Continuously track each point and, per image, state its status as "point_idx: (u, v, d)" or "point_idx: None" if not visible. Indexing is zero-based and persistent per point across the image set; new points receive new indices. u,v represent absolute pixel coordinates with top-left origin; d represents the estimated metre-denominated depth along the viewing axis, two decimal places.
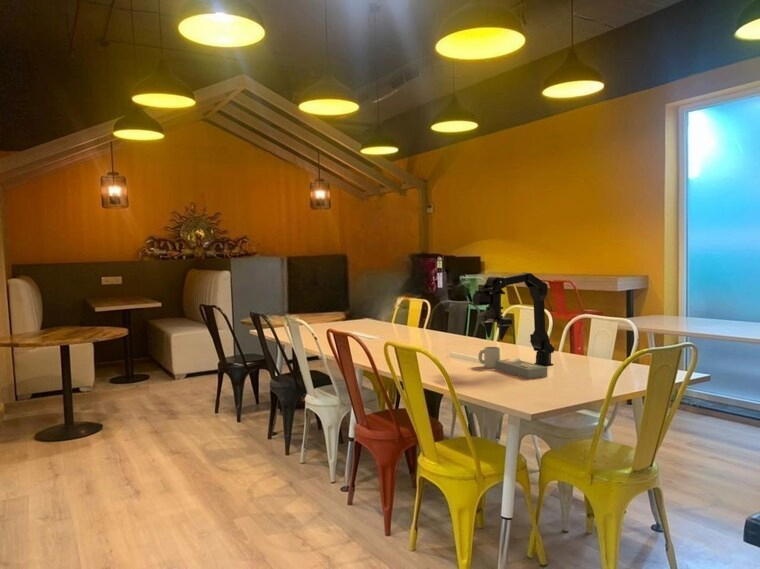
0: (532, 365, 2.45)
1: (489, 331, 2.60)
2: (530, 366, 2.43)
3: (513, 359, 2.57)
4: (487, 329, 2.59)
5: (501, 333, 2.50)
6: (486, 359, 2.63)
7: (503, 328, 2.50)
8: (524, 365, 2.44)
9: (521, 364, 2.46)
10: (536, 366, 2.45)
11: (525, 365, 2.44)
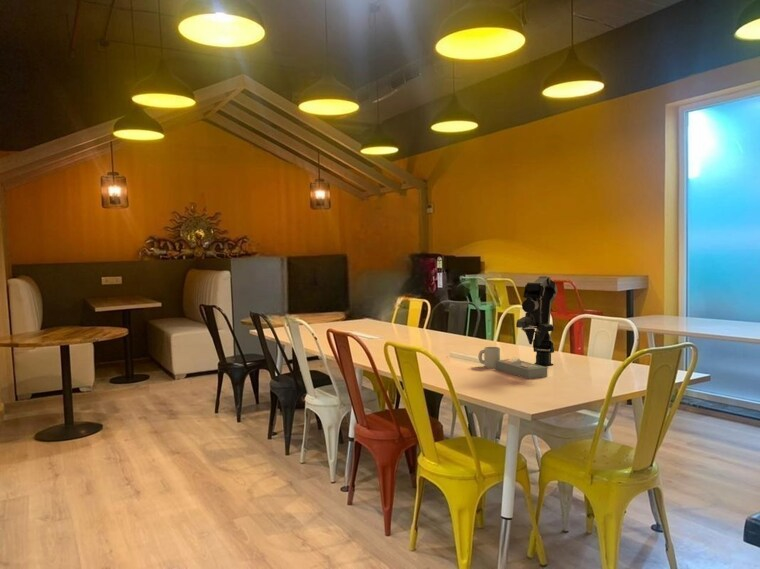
0: (532, 365, 2.45)
1: (531, 338, 2.55)
2: (530, 366, 2.43)
3: (513, 359, 2.57)
4: (529, 336, 2.55)
5: (539, 339, 2.49)
6: (486, 359, 2.63)
7: (540, 334, 2.49)
8: (524, 365, 2.44)
9: (521, 364, 2.46)
10: (536, 366, 2.45)
11: (525, 365, 2.44)
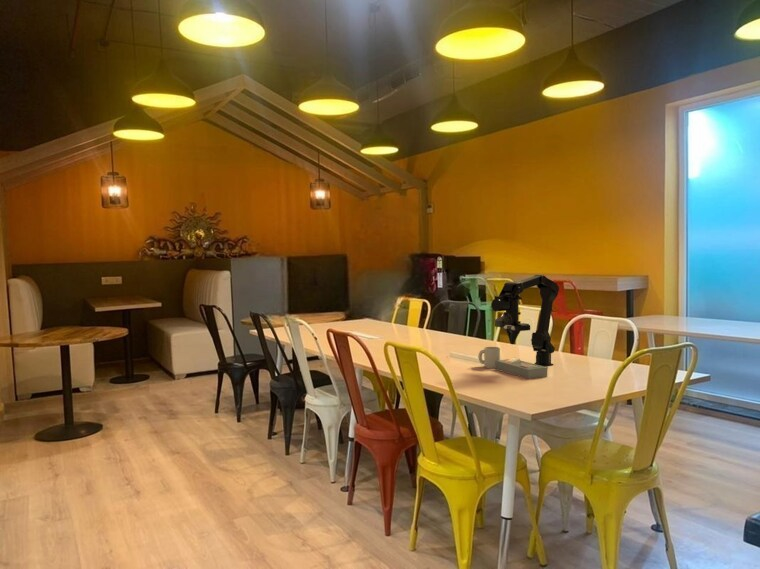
0: (532, 365, 2.45)
1: None
2: (530, 366, 2.43)
3: (513, 359, 2.57)
4: None
5: (512, 337, 2.54)
6: (486, 359, 2.63)
7: (514, 332, 2.55)
8: (524, 365, 2.44)
9: (521, 364, 2.46)
10: (536, 366, 2.45)
11: (525, 365, 2.44)
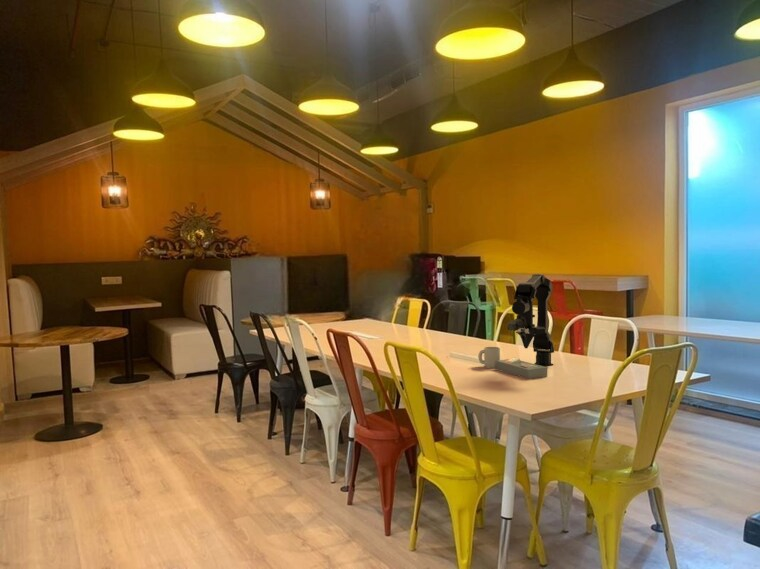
0: (532, 365, 2.45)
1: None
2: (530, 366, 2.43)
3: (513, 359, 2.57)
4: None
5: (526, 341, 2.43)
6: (486, 359, 2.63)
7: (528, 336, 2.43)
8: (524, 365, 2.44)
9: (521, 364, 2.46)
10: (536, 366, 2.45)
11: (525, 365, 2.44)
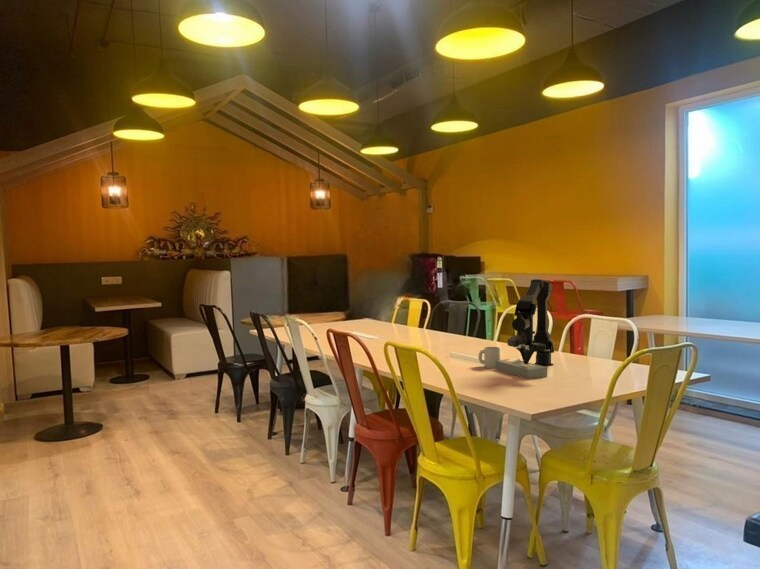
0: (532, 365, 2.45)
1: None
2: (530, 366, 2.43)
3: (513, 359, 2.57)
4: None
5: (526, 357, 2.43)
6: (486, 359, 2.63)
7: (528, 352, 2.43)
8: (524, 365, 2.44)
9: (521, 364, 2.46)
10: (536, 366, 2.45)
11: (525, 365, 2.44)
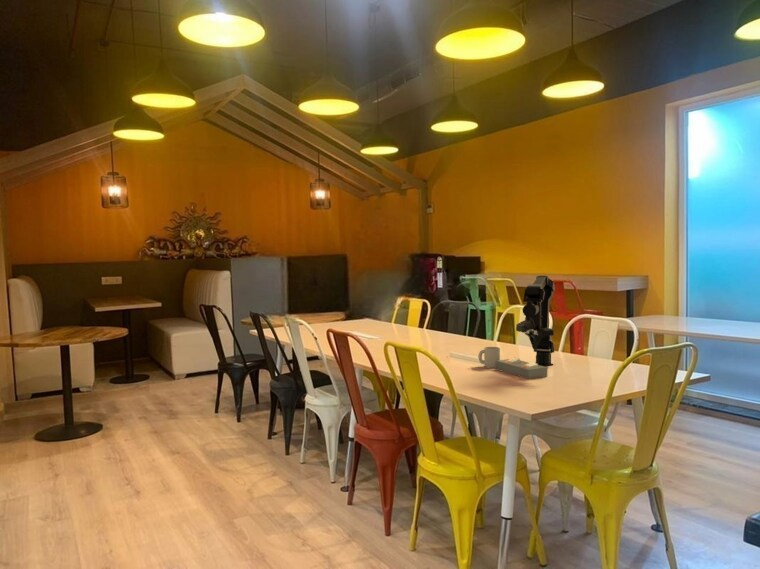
0: (532, 364, 2.45)
1: None
2: (530, 367, 2.43)
3: (513, 359, 2.57)
4: None
5: (535, 342, 2.47)
6: (486, 359, 2.63)
7: (537, 337, 2.48)
8: None
9: None
10: (536, 364, 2.45)
11: None
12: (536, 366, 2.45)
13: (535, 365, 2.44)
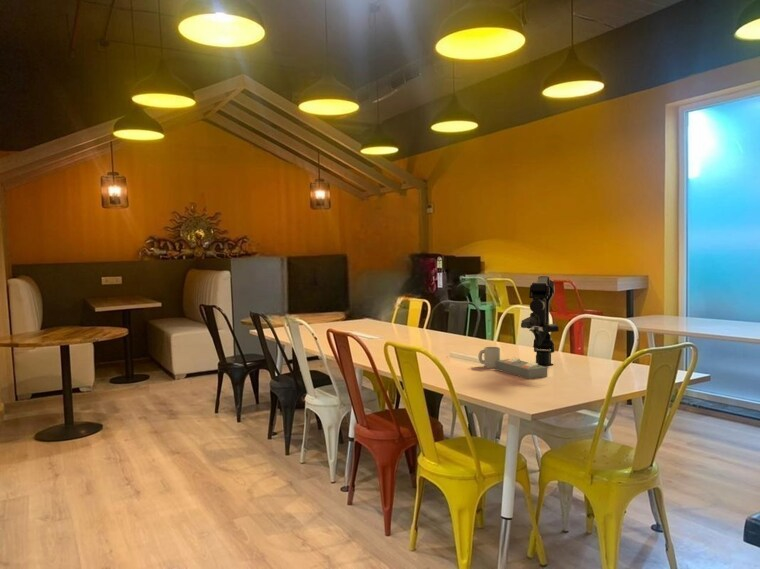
0: (531, 364, 2.45)
1: None
2: (530, 367, 2.43)
3: (513, 359, 2.57)
4: (537, 337, 2.51)
5: (540, 339, 2.50)
6: (486, 359, 2.63)
7: (542, 333, 2.50)
8: None
9: None
10: (535, 364, 2.45)
11: None
12: (536, 366, 2.45)
13: (535, 365, 2.44)
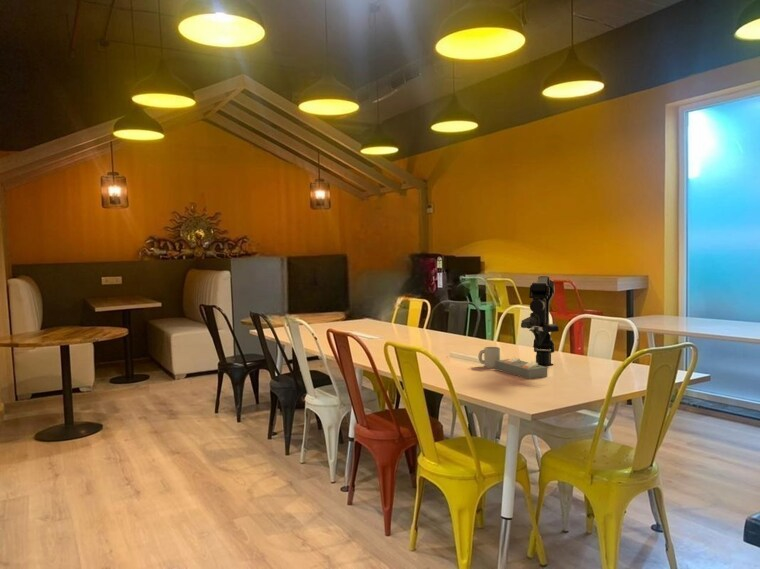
0: (531, 364, 2.45)
1: None
2: None
3: (513, 359, 2.57)
4: (537, 337, 2.51)
5: (540, 339, 2.50)
6: (486, 359, 2.63)
7: (542, 333, 2.50)
8: None
9: None
10: (535, 363, 2.44)
11: None
12: (536, 365, 2.45)
13: (535, 364, 2.44)
